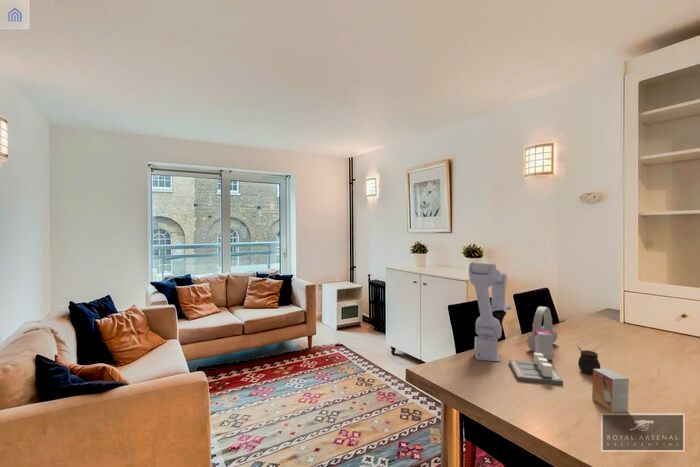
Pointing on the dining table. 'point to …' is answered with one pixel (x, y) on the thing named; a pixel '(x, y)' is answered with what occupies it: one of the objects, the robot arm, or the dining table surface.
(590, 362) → the mate gourd
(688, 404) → the dining table surface
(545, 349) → the supplement box
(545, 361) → the handle
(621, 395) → the small box
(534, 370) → the breaker panel
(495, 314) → the robot arm
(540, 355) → the handle
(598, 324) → the dining table surface
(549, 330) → the headphones
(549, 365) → the block
